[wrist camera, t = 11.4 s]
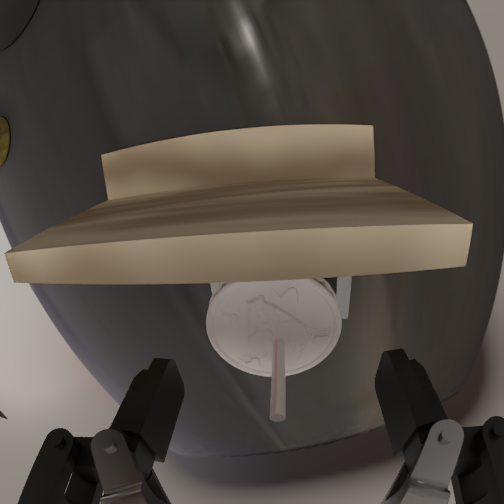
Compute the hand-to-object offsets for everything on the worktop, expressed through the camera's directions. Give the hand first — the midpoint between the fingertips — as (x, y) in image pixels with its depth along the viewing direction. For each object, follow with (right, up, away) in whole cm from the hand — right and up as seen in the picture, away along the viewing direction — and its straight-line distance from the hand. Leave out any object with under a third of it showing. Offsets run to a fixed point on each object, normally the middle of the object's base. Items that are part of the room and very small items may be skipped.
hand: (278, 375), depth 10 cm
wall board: (-2, +11, +9) cm, 14 cm away
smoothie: (+1, +5, +12) cm, 13 cm away
